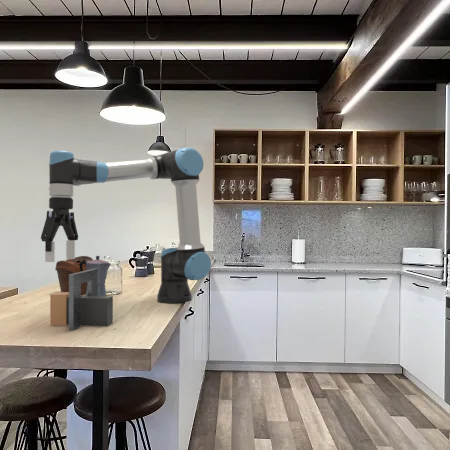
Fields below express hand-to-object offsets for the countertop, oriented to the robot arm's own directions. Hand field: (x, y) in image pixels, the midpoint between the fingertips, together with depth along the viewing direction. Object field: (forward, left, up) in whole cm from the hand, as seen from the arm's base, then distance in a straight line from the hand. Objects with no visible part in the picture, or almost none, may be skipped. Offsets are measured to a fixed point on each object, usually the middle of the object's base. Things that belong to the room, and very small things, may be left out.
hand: (60, 260), depth 139 cm
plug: (-7, +2, -21) cm, 22 cm away
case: (+3, -65, -21) cm, 68 cm away
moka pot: (-8, -39, -21) cm, 45 cm away
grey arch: (-8, +3, -21) cm, 23 cm away
